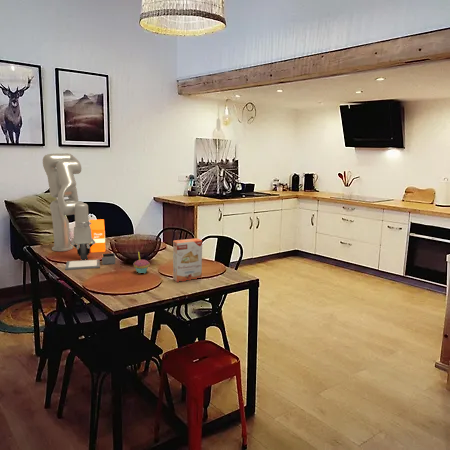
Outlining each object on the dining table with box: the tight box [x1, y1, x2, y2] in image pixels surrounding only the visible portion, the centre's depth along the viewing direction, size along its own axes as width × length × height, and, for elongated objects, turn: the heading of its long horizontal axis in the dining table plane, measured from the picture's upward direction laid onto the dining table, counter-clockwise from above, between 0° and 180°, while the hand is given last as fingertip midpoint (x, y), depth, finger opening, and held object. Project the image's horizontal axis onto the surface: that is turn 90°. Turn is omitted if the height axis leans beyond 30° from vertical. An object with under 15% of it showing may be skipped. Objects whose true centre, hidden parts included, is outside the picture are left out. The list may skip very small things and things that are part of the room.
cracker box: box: [172, 237, 203, 283], centre depth 224 cm, size 14×6×21 cm, turn 117°
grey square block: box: [101, 252, 116, 266], centre depth 251 cm, size 7×7×4 cm
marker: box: [79, 243, 88, 260], centre depth 256 cm, size 4×4×12 cm
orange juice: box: [89, 218, 106, 253], centre depth 274 cm, size 8×9×20 cm
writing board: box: [64, 258, 101, 271], centre depth 246 cm, size 14×18×1 cm
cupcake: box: [132, 250, 151, 274], centre depth 234 cm, size 9×8×12 cm
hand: (83, 254), depth 257 cm, fingers closed on marker, 4 cm apart
